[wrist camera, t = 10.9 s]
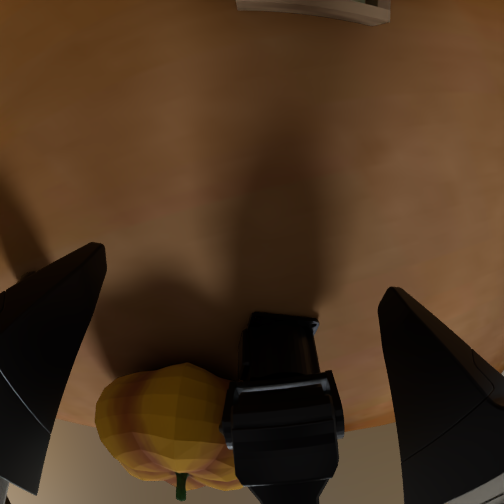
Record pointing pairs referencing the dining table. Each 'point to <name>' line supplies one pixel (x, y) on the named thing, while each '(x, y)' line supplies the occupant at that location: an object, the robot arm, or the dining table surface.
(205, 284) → the dining table surface
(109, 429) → the decorative pumpkin
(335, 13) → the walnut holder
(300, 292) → the dining table surface
